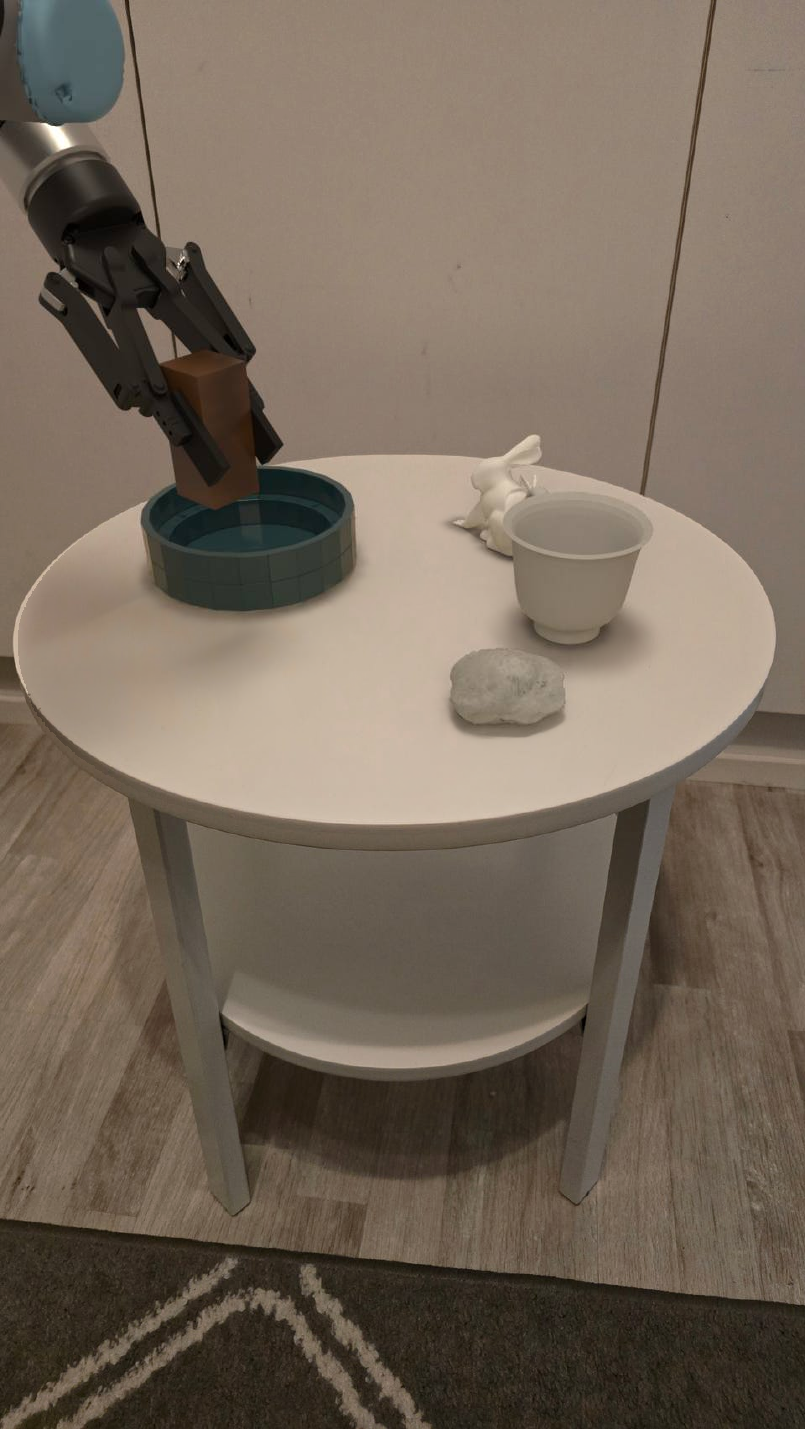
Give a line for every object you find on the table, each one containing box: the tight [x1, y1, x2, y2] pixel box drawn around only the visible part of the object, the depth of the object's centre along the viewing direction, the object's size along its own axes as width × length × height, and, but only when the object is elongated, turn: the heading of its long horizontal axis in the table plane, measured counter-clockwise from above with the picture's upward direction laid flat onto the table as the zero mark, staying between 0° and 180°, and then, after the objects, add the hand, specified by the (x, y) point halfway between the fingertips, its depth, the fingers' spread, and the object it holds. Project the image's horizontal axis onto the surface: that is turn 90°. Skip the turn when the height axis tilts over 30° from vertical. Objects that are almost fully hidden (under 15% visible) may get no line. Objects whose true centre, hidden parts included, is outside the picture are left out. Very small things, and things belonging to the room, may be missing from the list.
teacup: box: [503, 485, 654, 645], centre depth 83 cm, size 12×15×10 cm
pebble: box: [449, 647, 567, 725], centre depth 74 cm, size 9×8×5 cm
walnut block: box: [158, 349, 259, 510], centre depth 74 cm, size 4×4×10 cm
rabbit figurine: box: [452, 434, 543, 557], centre depth 96 cm, size 12×8×10 cm, turn 28°
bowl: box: [139, 464, 358, 613], centre depth 93 cm, size 20×20×6 cm
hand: (246, 465), depth 73 cm, fingers closed on walnut block, 4 cm apart
